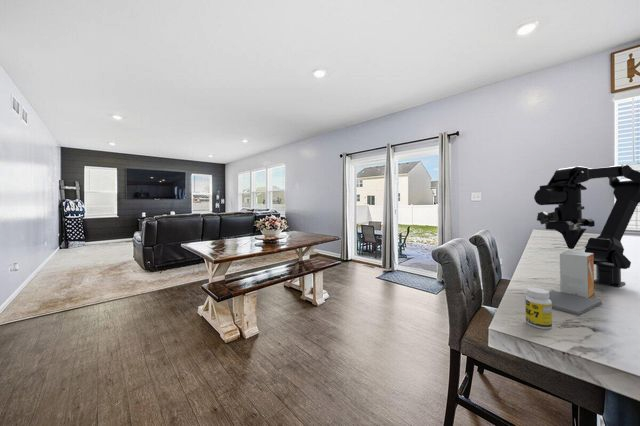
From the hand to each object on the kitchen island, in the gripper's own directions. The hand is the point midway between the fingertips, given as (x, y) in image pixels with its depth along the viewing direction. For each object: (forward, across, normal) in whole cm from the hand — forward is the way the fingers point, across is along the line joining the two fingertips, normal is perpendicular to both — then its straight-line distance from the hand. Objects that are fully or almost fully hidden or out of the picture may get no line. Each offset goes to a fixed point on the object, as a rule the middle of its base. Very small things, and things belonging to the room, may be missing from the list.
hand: (570, 248), depth 86 cm
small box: (+13, +9, +5) cm, 16 cm away
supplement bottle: (+13, +43, +10) cm, 46 cm away
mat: (+13, +21, +6) cm, 25 cm away
